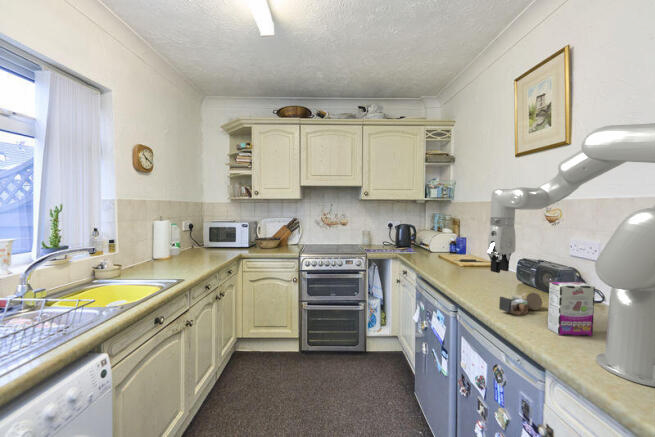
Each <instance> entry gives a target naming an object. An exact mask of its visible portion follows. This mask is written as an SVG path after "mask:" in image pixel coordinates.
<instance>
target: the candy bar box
mask: <svg viewBox="0 0 655 437" xmlns="http://www.w3.org/2000/svg"><path fill="white" fill-rule="evenodd" d="M548 283H549V286H548V287H549V288H548V291H549V292H548V309H547V310H548V311H547V329H548V330H549V331H551V332H553V333H554V334H556V335H558V336H576V337H577V336H587V337H588V336H589V337H590V336H593V335H594V313H595V312H594V311H595V297H596V296H595V295H596V294H595V293H596V286H595V285H592V284H589V283H586V282H580V281H579V282H578V281H577V282H575V281H574V282H573V281H572V282H571V281H569V282H567V281H566V282H565V281H562V282H559V281H550V282H548Z"/></svg>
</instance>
